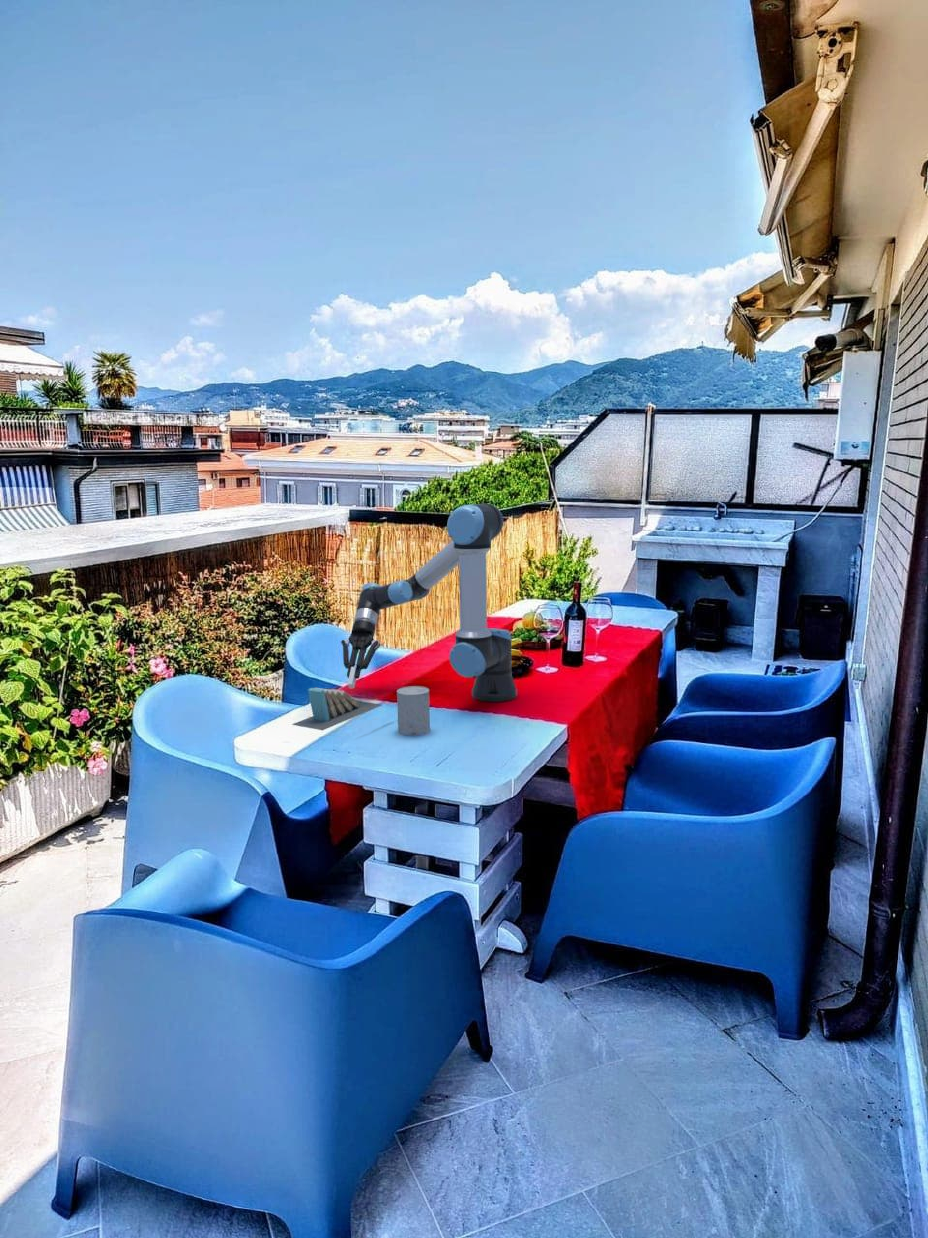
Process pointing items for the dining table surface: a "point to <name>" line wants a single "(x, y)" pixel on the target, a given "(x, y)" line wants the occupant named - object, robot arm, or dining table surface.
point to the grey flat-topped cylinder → (413, 710)
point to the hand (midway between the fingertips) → (350, 686)
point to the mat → (337, 717)
